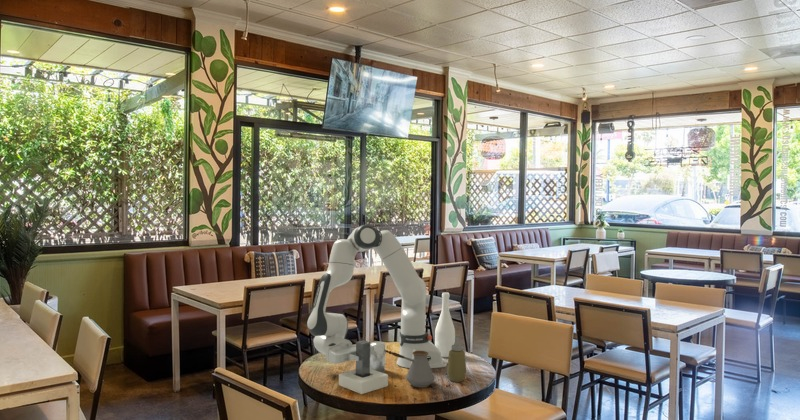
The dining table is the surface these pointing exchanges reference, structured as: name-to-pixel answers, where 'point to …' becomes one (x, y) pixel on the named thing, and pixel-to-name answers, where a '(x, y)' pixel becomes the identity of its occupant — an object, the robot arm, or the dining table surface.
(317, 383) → the dining table surface
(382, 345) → the round bit
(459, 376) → the squeeze bottle
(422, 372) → the coffee pot
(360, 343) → the square bit
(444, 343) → the wine bottle
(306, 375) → the dining table surface
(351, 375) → the socket block
